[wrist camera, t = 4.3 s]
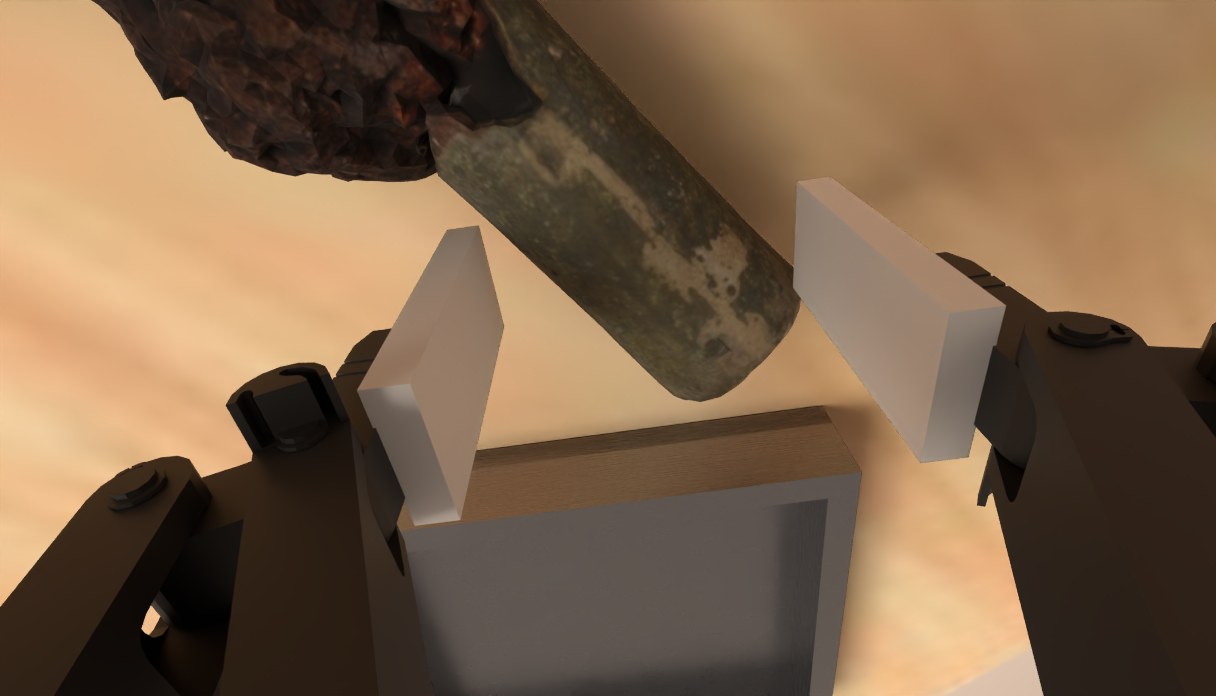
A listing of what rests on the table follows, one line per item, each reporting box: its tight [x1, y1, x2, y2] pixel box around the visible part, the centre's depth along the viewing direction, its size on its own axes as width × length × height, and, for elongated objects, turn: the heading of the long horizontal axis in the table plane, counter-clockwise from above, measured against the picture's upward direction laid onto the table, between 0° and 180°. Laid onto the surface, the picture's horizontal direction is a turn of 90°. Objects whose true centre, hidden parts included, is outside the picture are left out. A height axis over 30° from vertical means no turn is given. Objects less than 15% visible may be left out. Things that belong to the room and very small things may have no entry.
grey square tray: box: [397, 406, 862, 696], centre depth 25 cm, size 19×19×4 cm
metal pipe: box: [92, 0, 801, 402], centre depth 13 cm, size 18×7×6 cm, turn 43°
